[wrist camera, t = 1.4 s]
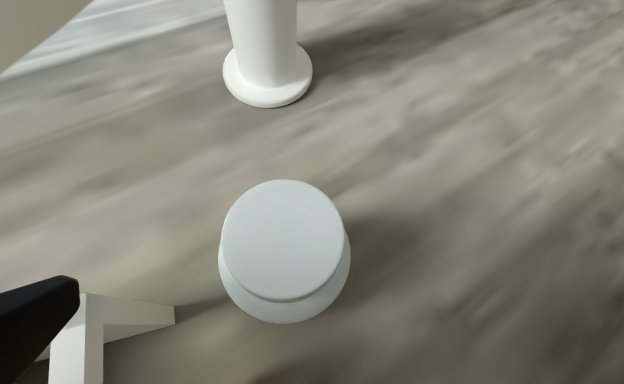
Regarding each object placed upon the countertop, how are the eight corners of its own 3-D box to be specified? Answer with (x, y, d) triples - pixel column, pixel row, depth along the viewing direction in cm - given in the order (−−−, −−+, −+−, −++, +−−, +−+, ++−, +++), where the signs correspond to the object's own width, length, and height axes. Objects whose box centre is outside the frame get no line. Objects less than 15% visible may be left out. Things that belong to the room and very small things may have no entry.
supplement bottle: (225, 282, 18) (158, 243, 9) (284, 217, 20) (274, 133, 11) (294, 345, 17) (292, 368, 8) (350, 270, 19) (397, 222, 10)
